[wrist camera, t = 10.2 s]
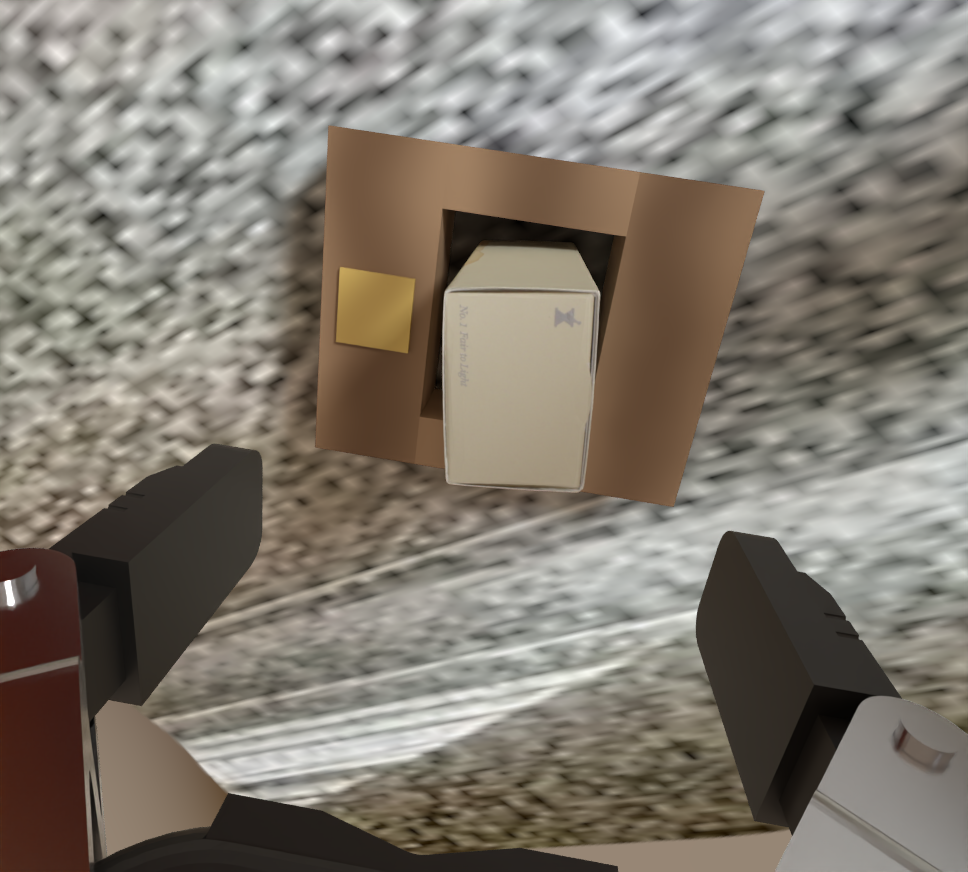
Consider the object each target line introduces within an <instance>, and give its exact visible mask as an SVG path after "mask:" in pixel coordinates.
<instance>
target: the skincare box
mask: <svg viewBox="0 0 968 872" xmlns="http://www.w3.org/2000/svg"><path fill="white" fill-rule="evenodd" d="M599 304H600V291H599V290H598V288H597V286H596V284H595V282H594V280H593V279H592V276H591V275H590V272H589V271H588V269H587V267H586V265H585V263H584V261H583V259H582V257H581V255H580V254H579V252H578V250H577V248H576V246H575V244H574V243H569V242H550V241H524V240H483V241H481V242H480V243H479V245H478V246H477V247H476V249H475V250H474V252H473V253H472V255H471V256H470V257H469V259H468V260H467V261H466V263H465V264H464V266H463V267H462V268H461V270H460V271H459V273H458V274H457V275H456V277H455V278H454V280H453V281H452V282H451V283H450V285H449V286H448V288H447V289H446V290H445V292H444V304H443V329H442V389H443V435H444V462H445V478H446V482H447V483H448V484H451V485H461V486H475V487H488V488H501V489H517V490H530V491H551V492H568V493H578V492H580V491H581V490H582V489H583V488H584V483H585V475H586V467H587V458H588V448H589V439H590V430H591V420H592V410H593V399H594V384H595V371H596V357H597V341H598V325H599Z"/></svg>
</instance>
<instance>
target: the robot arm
mask: <svg viewBox="0 0 968 872" xmlns="http://www.w3.org/2000/svg"><path fill="white" fill-rule="evenodd" d="M261 536H262V459H261V455H260V453H259V452H258V451H256V450H250V449H244V448H238V447H232V446H226V445H220V444H211V445H210V446H208V447H207V448H206V449H204V450H203V451H202V452H200V453H199V454H198V455H197V456H195V457H194V458H193V459H191V460H190V461H189V462H188V463H186V464H185V465H184V466H174V467H172V468H169V469H166V470H164V471H161V472H158V473H156V474H153V475H150V476H148V477H146V478H145V479H143V480H142V481H141V482H139V483H138V484H137V485H135V486H134V487H132V488H131V489H130V490H128V491H127V492H126V495H125V496H124V495H122V496H120V497H119V498H117V499H116V500H115V501H113V502H112V503H111V504H109V507H108V509H105V508H104V509H102V510H101V511H100V512H98V513H97V514H96V515H94V516H93V517H92V518H90V519H89V520H87V521H86V522H85V523H83V524H82V525H81V526H79V527H78V528H76V529H75V530H74V531H72V532H71V533H70V534H68V535H67V536H66V537H64V538H63V539H61V540H60V541H59V542H57V543H56V544H55V545H53V546H52V547H51V548H49V549H44V548H20V549H11V550H6V551H0V872H618V867H617V866H613V865H608V864H603V863H598V862H592V861H587V860H581V859H576V858H571V857H565V856H560V855H555V854H550V853H544V852H538V851H534V850H528V849H523V848H514V849H500V850H487V851H473V852H460V853H447V854H433V855H417V854H412V853H409V852H407V851H404V850H402V849H400V848H398V847H396V846H394V845H392V844H390V843H388V842H386V841H384V840H382V839H380V838H377V837H375V836H373V835H371V834H369V833H367V832H365V831H363V830H361V829H359V828H357V827H355V826H353V825H351V824H349V823H346V822H344V821H342V820H340V819H338V818H336V817H334V816H332V815H330V814H328V813H326V812H324V811H321V810H315V809H310V808H305V807H299V806H294V805H289V804H283V803H278V802H273V801H267V800H262V799H257V798H251V797H246V796H241V795H235V794H230V793H228V795H227V797H226V798H225V800H224V803H223V804H222V806H221V808H220V810H219V812H218V814H217V816H216V818H215V819H214V821H213V823H212V825H211V827H199V828H193V829H188V830H183V831H177V832H172V833H169V834H165V835H162V836H158V837H155V838H152V839H148V840H145V841H143V842H140V843H138V844H135V845H133V846H130V847H128V848H125V849H123V850H120V851H118V852H116V853H114V854H112V855H110V856H108V857H107V850H106V849H107V848H106V837H105V825H104V812H103V799H102V787H101V775H100V763H99V762H100V761H99V750H98V737H97V726H96V719H95V715H96V714H97V713H98V712H99V710H100V709H101V708H102V707H103V706H104V704H105V703H106V702H107V701H108V700H112V701H117V702H123V703H128V704H134V705H139V706H142V705H143V704H144V702H145V701H146V700H147V699H148V697H149V696H150V695H151V693H152V692H153V691H154V690H155V688H156V687H157V686H158V684H159V683H160V682H161V681H162V679H163V678H164V677H165V675H166V674H167V673H168V672H169V670H170V669H171V668H172V666H173V665H174V664H175V663H176V661H177V660H178V659H179V657H180V656H181V655H182V653H183V652H184V651H185V650H186V648H187V647H188V646H189V644H190V643H191V642H192V641H193V639H194V638H195V637H196V635H197V634H198V633H199V632H200V630H201V629H202V628H203V626H204V625H205V624H206V623H207V621H208V620H209V619H210V617H211V616H212V615H213V614H214V612H215V611H216V610H217V608H218V607H219V606H220V605H221V603H222V602H223V601H224V599H225V598H226V597H227V596H228V594H229V593H230V592H231V590H232V589H233V588H234V587H235V585H236V584H237V583H238V581H239V580H240V579H241V578H242V576H243V575H244V574H245V572H246V571H247V570H248V569H249V567H250V566H251V565H252V563H253V561H254V559H255V557H256V555H257V552H258V549H259V546H260V542H261ZM858 637H859V635H858V633H857V632H856V631H855V629H854V628H853V626H852V625H851V623H850V622H849V621H846V616H845V614H844V613H843V611H842V610H841V609H840V607H839V606H838V604H837V603H836V601H835V600H834V598H833V597H832V595H831V594H830V593H829V592H827V591H826V590H825V589H824V588H823V587H821V586H820V585H819V584H818V583H817V582H815V581H814V580H813V579H812V578H810V577H809V576H808V575H807V574H806V573H803V572H797V570H796V569H795V567H794V566H793V564H792V563H791V561H790V559H789V558H788V556H787V555H786V553H785V552H784V550H783V548H782V547H781V545H780V544H779V542H778V541H777V540H776V539H775V538H770V537H764V536H758V535H752V534H746V533H740V532H734V531H727V532H726V533H725V534H724V535H723V537H722V538H721V540H720V543H719V545H718V548H717V552H716V555H715V558H714V561H713V564H712V567H711V570H710V573H709V576H708V579H707V582H706V585H705V588H704V591H703V594H702V598H701V601H700V604H699V607H698V612H697V618H696V638H697V644H698V647H699V650H700V653H701V656H702V659H703V663H704V666H705V669H706V672H707V675H708V678H709V681H710V684H711V687H712V691H713V694H714V697H715V700H716V703H717V706H718V709H719V712H720V715H721V719H722V722H723V725H724V728H725V731H726V734H727V737H728V740H729V743H730V747H731V750H732V753H733V756H734V759H735V762H736V765H737V768H738V771H739V775H740V778H741V781H742V784H743V787H744V790H745V793H746V796H747V799H748V803H749V806H750V809H751V812H752V815H753V818H754V821H757V822H763V823H768V824H774V825H779V826H784V827H789V829H790V831H791V834H792V838H791V840H790V842H789V844H788V846H787V848H786V850H785V852H784V854H783V856H782V858H781V860H780V862H779V864H778V866H777V868H776V870H775V872H968V735H967V734H966V733H965V732H964V731H962V730H961V729H960V728H958V727H957V726H956V725H954V724H953V723H951V722H950V721H948V720H947V719H946V718H944V717H942V716H940V715H939V714H937V713H935V712H933V711H931V710H929V709H927V708H925V707H923V706H921V705H918V704H916V703H913V702H910V701H907V700H904V699H902V698H901V696H900V695H899V693H898V692H897V690H896V689H895V688H894V686H893V685H892V683H891V682H890V680H889V679H888V677H887V676H886V674H885V673H884V671H883V670H882V669H881V667H880V666H879V664H878V663H877V661H876V660H875V658H874V657H873V655H872V654H871V652H870V651H869V650H868V648H867V647H866V645H865V644H864V642H863V641H862V640H859V639H858Z"/></svg>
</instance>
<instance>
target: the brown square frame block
mask: <svg viewBox="0 0 968 872" xmlns="http://www.w3.org/2000/svg"><path fill="white" fill-rule="evenodd" d="M763 195H764V191H762V190H755V189H748V188H742V187H735V186H728V185H722V184H715V183H708V182H702V181H695V180H688V179H682V178H675V177H668V176H662V175H655V174H648V173H642V172H635V171H628V170H622V169H615V168H608V167H602V166H595V165H588V164H582V163H575V162H568V161H562V160H555V159H548V158H542V157H535V156H529V155H522V154H515V153H509V152H502V151H495V150H489V149H482V148H475V147H469V146H462V145H455V144H449V143H442V142H435V141H429V140H422V139H415V138H409V137H402V136H395V135H389V134H382V133H375V132H369V131H362V130H355V129H349V128H342V127H335V126H329V127H328V151H327V175H326V199H325V223H324V247H323V272H322V296H321V320H320V344H319V368H318V392H317V416H316V440H315V447H316V448H322V449H328V450H334V451H340V452H346V453H352V454H358V455H364V456H370V457H376V458H382V459H388V460H395V461H401V462H407V463H413V464H419V465H425V466H431V467H437V468H443V469H445V462H444V435H443V390H440V389H435V383H436V374H437V366H438V357H439V348H440V340H441V331H442V322H443V304H444V292H445V290H446V288H447V279H448V271H449V262H450V253H451V245H452V236H453V227H454V219H455V210H456V211H462V212H469V213H475V214H482V215H488V216H495V217H501V218H508V219H514V220H521V221H527V222H534V223H540V224H547V225H553V226H560V227H566V228H573V229H580V230H586V231H593V232H599V233H606V234H612V235H614V238H613V243H612V247H611V252H610V257H609V262H608V267H607V271H606V276H605V281H604V286H603V291H602V295H601V300H600V305H599V325H598V341H597V357H596V371H595V384H594V399H593V410H592V420H591V430H590V439H589V448H588V458H587V467H586V475H585V483H584V488H583V489H582V490H581V492H587V493H593V494H599V495H605V496H611V497H617V498H623V499H629V500H635V501H641V502H647V503H653V504H659V505H665V506H671V507H674V503H675V500H676V496H677V493H678V490H679V486H680V483H681V479H682V476H683V472H684V469H685V465H686V462H687V458H688V455H689V451H690V448H691V444H692V441H693V438H694V434H695V431H696V427H697V424H698V420H699V417H700V413H701V410H702V406H703V403H704V399H705V396H706V392H707V389H708V386H709V382H710V379H711V375H712V372H713V368H714V365H715V361H716V358H717V354H718V351H719V347H720V344H721V340H722V337H723V334H724V330H725V327H726V323H727V320H728V316H729V313H730V309H731V306H732V302H733V299H734V295H735V292H736V288H737V285H738V282H739V278H740V275H741V271H742V268H743V264H744V261H745V257H746V254H747V250H748V247H749V243H750V240H751V237H752V233H753V230H754V226H755V223H756V219H757V216H758V212H759V209H760V205H761V202H762V198H763Z"/></svg>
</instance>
